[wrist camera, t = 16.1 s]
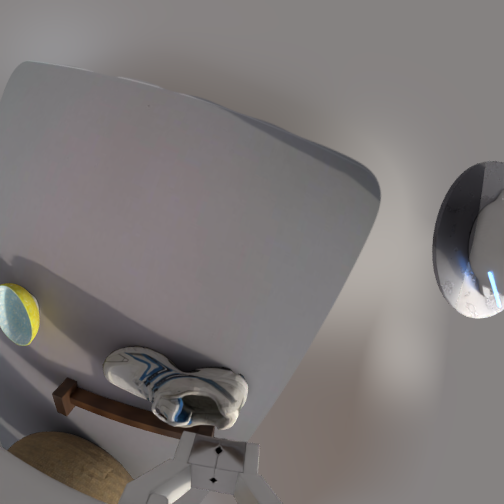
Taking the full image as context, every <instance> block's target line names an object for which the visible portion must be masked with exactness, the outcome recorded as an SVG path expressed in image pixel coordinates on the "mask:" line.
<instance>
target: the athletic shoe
mask: <svg viewBox="0 0 504 504" xmlns="http://www.w3.org/2000/svg"><path fill="white" fill-rule="evenodd" d="M103 373H104V375H105V377H106V379H107V380H108V381H109V382H110V383H111V384H113V385H115V386H117V387H119V388H122V389H124V390H126V391H128V392H130V393H132V394H134V395H136V396H139V397H142V398H144V399H146V400H148V401H150V402H152V406H151V407H152V412H153V413H154V414H155V415H156V416H157V417H158V418H159V419H160V420H162V421H164V422H166V423H168V424H169V425H172V426H174V427H175V426H177V427H186V428H187V427H192V426H196V425H212V426H216V427H217V429H219V430H224V429H228V428H230V427H231V426H232V425H233V424H234V423H235V421H236V419H237V417H238V415H239V413H240V410H241V407H243V405H244V403H245V401H246V398H247V394H248V385H247V383H246V381H245V379H244V377H243V376H242V375H241V374H238V375H237V374H233V372H232V371H231V370H230V369H226V368H219V367H208V368H201V369H196V370H194V371H191V372H188V373H185V372H182V371H181V370H179V369H178V368H177V367H176V366H175V364H174V363H173V362H172V361H171V360H169V359H167V358H166V357H165V355H163V354H160V353H158V352H155V351H154V350H152V349H149V348H147V347H146V348H143V347H139V346H134V347H126V348H122V349H118V350H116V351H114V352H112V353H111V354H110V355H109V356H107V357H106V359H105V361H104V364H103ZM156 408H158V409H159V411H160V412H161V413H162V414H163V415H164V417H166V418H167V420H166V419H165V418H164V417H162V416H160V415H159V414H158V413H157V412H156V410H155V409H156Z"/></svg>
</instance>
